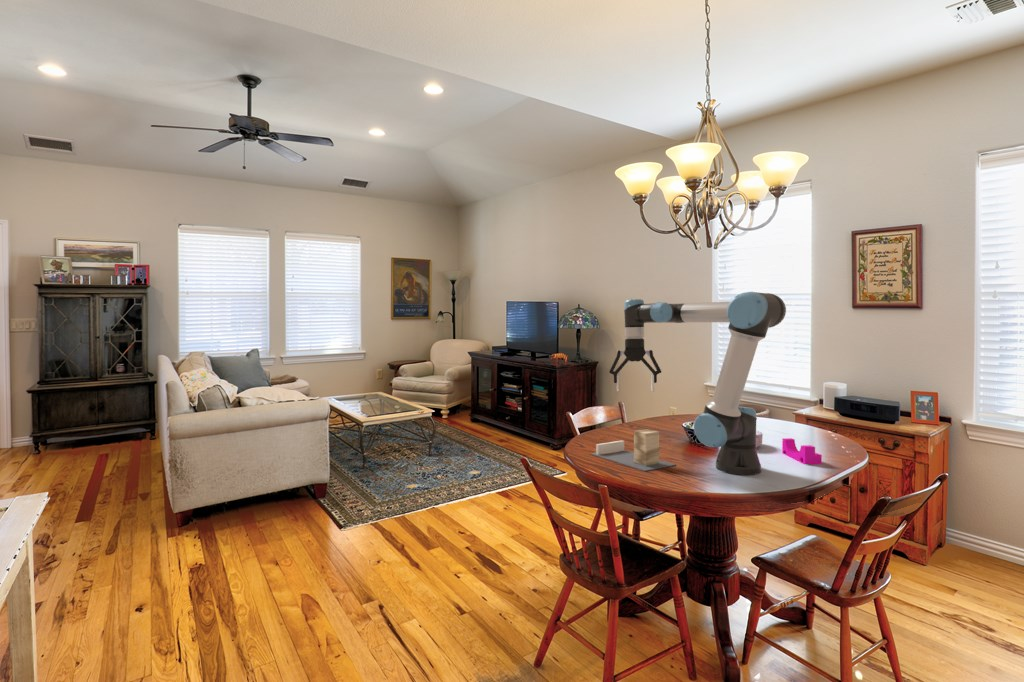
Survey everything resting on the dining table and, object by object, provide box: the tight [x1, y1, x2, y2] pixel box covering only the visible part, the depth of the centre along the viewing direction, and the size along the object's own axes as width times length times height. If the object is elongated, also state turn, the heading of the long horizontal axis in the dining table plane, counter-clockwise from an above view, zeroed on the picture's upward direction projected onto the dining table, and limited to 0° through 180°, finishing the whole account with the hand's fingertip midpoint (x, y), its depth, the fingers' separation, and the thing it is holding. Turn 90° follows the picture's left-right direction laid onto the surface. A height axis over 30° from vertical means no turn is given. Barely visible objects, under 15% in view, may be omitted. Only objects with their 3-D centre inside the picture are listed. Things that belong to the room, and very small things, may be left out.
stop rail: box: [595, 440, 625, 455], centre depth 215 cm, size 1×14×4 cm, turn 121°
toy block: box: [781, 437, 823, 465], centre depth 202 cm, size 15×6×8 cm, turn 3°
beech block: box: [633, 428, 660, 466], centre depth 198 cm, size 6×7×12 cm
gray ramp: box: [589, 449, 677, 472], centre depth 205 cm, size 30×16×1 cm, turn 31°
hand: (635, 391), depth 211 cm, fingers open, 13 cm apart
